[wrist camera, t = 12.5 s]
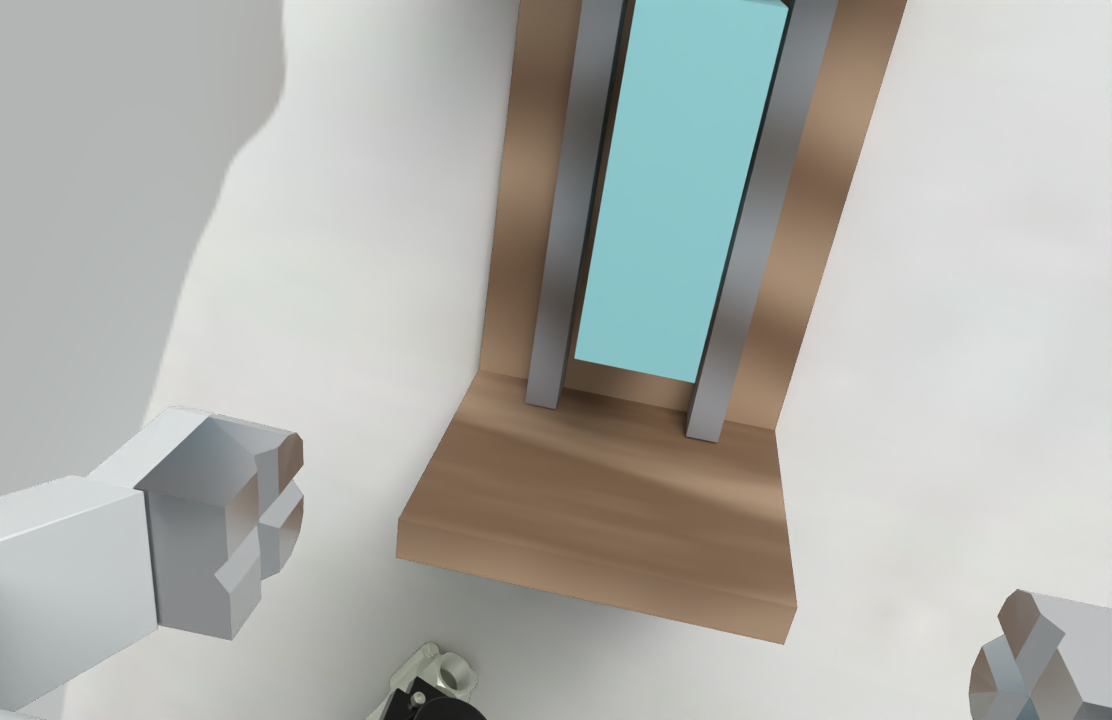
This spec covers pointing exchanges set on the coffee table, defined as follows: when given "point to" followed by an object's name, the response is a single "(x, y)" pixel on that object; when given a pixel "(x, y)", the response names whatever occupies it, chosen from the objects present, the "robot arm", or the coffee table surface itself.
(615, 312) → the door panel
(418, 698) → the pneumatic valve
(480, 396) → the cabinet base
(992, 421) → the coffee table surface
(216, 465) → the robot arm
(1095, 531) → the coffee table surface
